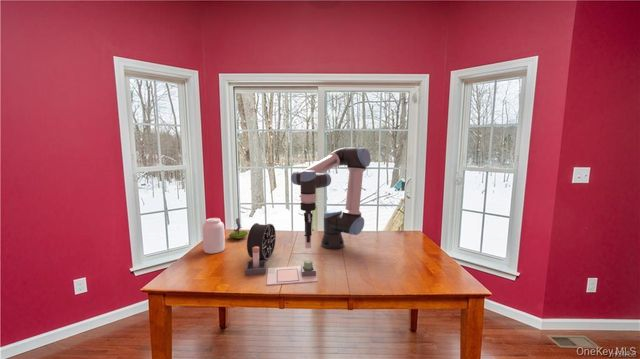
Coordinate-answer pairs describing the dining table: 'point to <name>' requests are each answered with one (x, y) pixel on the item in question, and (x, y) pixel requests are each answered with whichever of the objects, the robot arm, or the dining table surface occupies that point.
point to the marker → (255, 257)
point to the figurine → (239, 233)
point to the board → (287, 276)
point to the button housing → (308, 272)
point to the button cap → (308, 265)
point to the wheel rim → (261, 240)
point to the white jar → (213, 236)
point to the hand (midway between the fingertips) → (308, 247)
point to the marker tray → (251, 271)
